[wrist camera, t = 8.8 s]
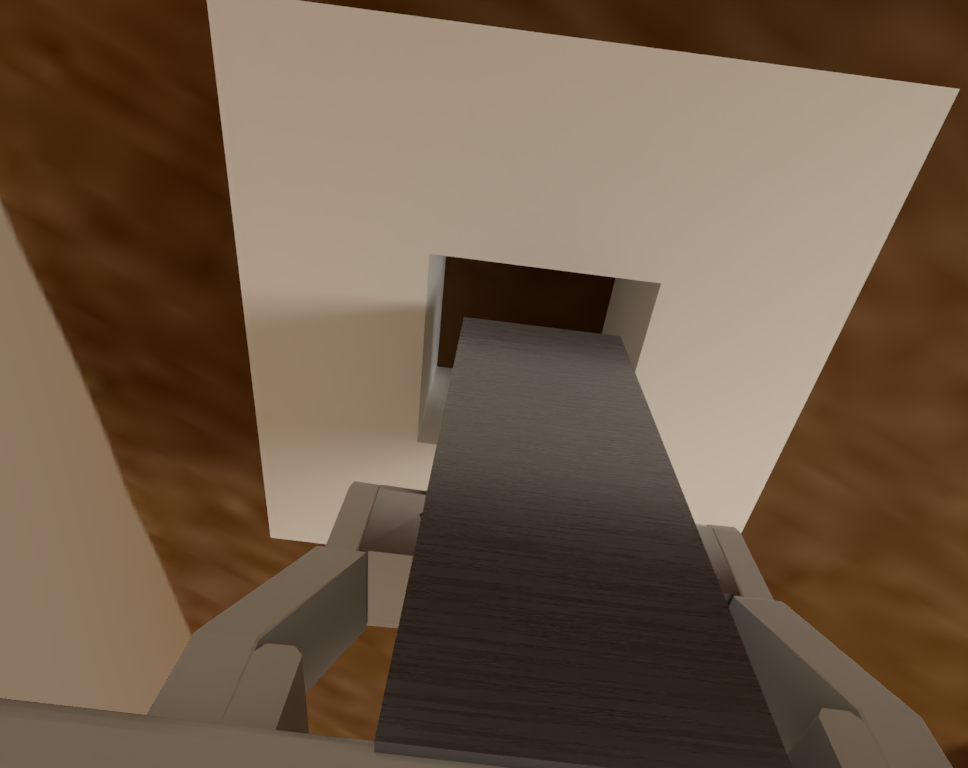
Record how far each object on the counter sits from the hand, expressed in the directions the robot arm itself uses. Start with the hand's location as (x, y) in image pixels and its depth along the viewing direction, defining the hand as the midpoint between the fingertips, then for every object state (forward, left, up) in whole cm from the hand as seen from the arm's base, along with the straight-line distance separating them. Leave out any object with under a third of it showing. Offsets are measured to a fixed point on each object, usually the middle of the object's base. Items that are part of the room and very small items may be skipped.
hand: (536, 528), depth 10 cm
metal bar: (0, 0, -5) cm, 5 cm away
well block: (0, 0, -11) cm, 11 cm away
